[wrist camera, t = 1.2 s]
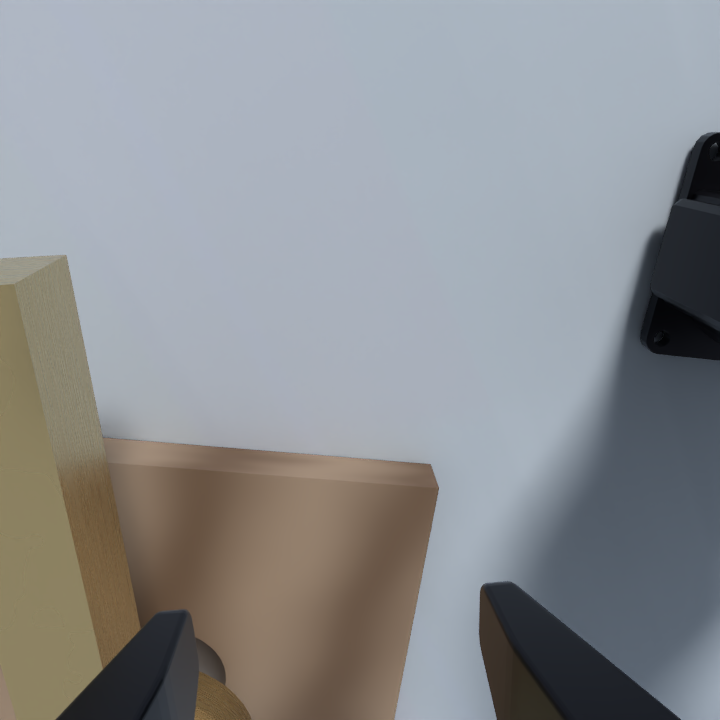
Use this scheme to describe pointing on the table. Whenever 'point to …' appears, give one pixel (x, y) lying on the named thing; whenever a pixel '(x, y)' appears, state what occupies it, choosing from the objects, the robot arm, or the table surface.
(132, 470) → the base
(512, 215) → the table surface
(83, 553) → the beige elongated piece
